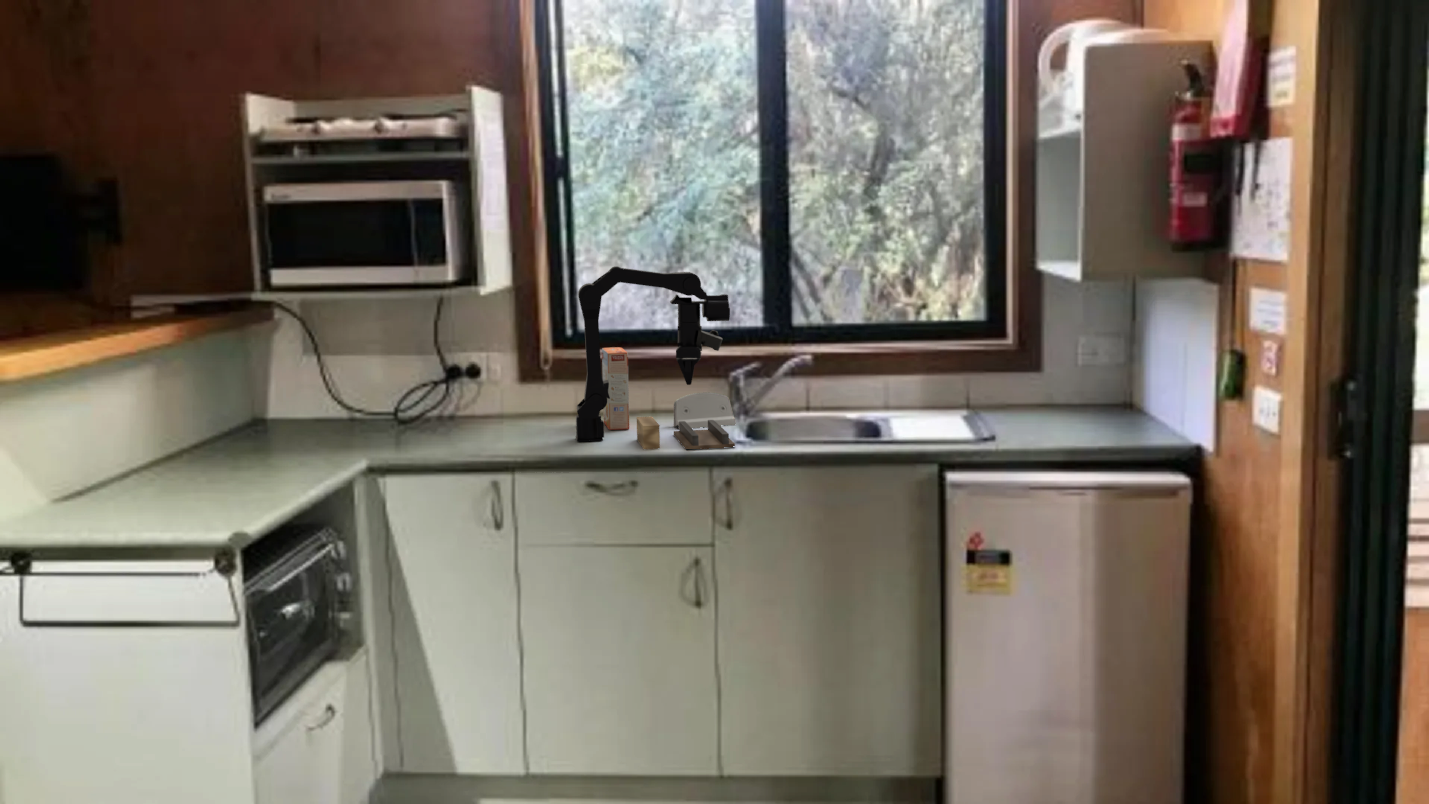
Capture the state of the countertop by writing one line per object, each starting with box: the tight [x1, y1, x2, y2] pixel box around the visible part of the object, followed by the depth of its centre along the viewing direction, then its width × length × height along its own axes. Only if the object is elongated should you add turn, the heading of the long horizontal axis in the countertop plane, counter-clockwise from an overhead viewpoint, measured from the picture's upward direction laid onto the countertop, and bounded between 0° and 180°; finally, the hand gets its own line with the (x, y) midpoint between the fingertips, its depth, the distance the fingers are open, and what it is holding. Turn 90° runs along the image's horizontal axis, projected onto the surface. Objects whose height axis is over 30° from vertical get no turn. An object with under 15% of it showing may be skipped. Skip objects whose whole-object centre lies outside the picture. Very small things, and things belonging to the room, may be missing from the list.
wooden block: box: [636, 416, 661, 450], centre depth 333 cm, size 4×14×6 cm, turn 10°
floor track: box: [673, 420, 736, 450], centre depth 335 cm, size 12×22×4 cm, turn 10°
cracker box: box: [601, 346, 630, 431], centre depth 359 cm, size 14×6×21 cm, turn 10°
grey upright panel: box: [673, 391, 737, 429], centre depth 359 cm, size 17×5×10 cm, turn 109°
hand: (689, 382), depth 342 cm, fingers open, 9 cm apart
